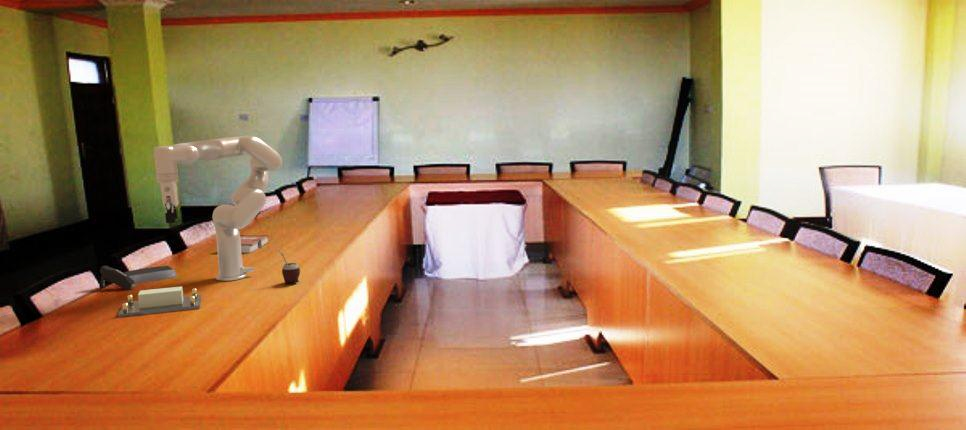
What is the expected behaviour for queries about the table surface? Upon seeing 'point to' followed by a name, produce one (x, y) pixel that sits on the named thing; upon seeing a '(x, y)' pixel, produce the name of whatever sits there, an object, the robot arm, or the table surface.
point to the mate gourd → (290, 272)
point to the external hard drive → (151, 274)
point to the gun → (115, 278)
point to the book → (252, 243)
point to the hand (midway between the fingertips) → (171, 220)
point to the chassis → (133, 306)
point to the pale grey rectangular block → (160, 297)
